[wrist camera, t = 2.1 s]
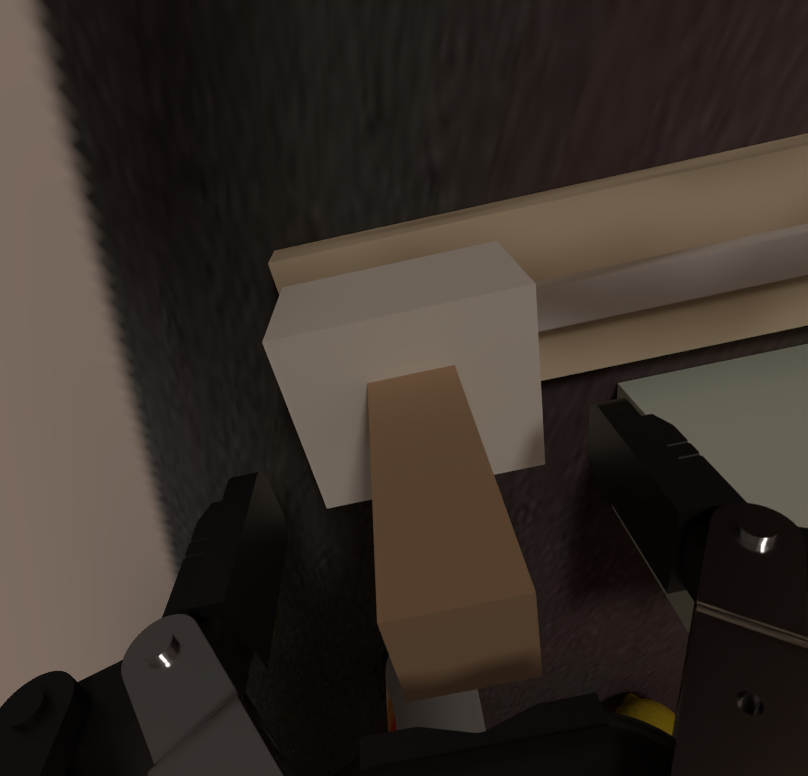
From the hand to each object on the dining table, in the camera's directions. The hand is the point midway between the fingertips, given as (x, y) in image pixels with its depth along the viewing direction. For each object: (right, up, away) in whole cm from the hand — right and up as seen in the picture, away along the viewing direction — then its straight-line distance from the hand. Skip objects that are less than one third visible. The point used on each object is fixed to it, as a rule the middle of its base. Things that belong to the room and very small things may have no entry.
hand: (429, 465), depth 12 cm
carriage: (-1, +3, +5) cm, 6 cm away
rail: (+8, +7, +7) cm, 12 cm away
